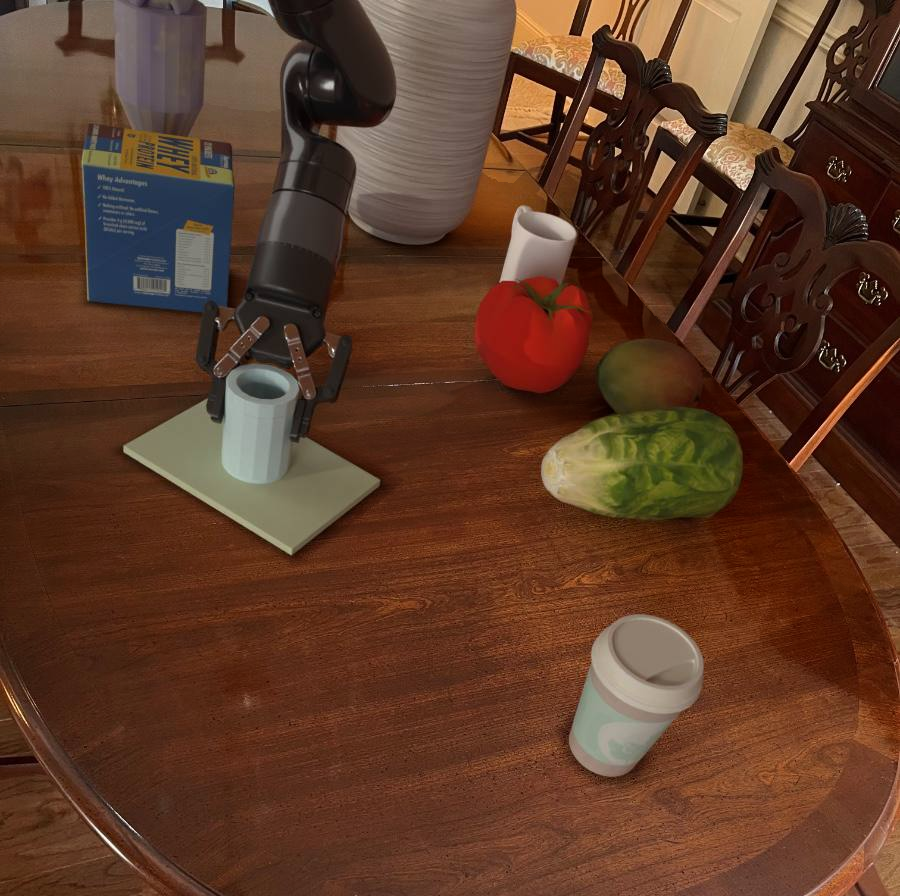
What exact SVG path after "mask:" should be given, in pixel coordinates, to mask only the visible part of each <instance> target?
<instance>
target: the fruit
mask: <svg viewBox="0 0 900 896" xmlns="http://www.w3.org/2000/svg"><path fill="white" fill-rule="evenodd" d="M594 370H595V371H594V378H595V383H596V385H597V388H598V390H599V392H600V394H601V395H602V397H603V399H604V400H605V402H606V403H607V404H608V405H609V407H610V408H611V409H612V410H613V411H614V412H615V414H620V413H628V412H641V411H651V410H656V409H662V408H673V407H688V408H695V409H697V405H698V404H699V402H700V400H701V394H702V390H703V371H702V368H701V366H700V364H699V362H698V360H697V359H696V358H695V356H694V355H693V354H691V353H690V352H689V350H687V349H686V348H684V347H682V346H680V345H678V344H675V343H673V342H669V341H666V340H661V339H654V338H638V339H632V340H628V341H624V342H622V343H619V344H616V345H615V346H613V347H612V348H610V349H609V350H608V351H607V352H605V353H604V354H603V356H602V357H601V359H600V360H599V361H598V363H597V366H596V367H595V369H594Z"/></svg>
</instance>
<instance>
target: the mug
mask: <svg viewBox="0 0 900 896" xmlns="http://www.w3.org/2000/svg"><path fill="white" fill-rule="evenodd" d="M577 236H578V233H577V230H576V228H575V227H574V226H573V225H572V224H571V223H569V222H568V221H566V220H565V219H563V218H561V217H559V216H556V215H553V214H550V213H547V212H541V211H533V209H532V208H531V206H529V205H520V206H518V207H517V209H516V211H515V213H514V216H513V220H512V226H511V238H510V241H509V244H508V248H507V251H506V256H505V259H504V264H503V268H502V270H501V271H502V272H501V275H500V278H499V279H500V280H499V283H500V282H501V281H516V282H517V283H519V282H520V281H518V280H521V281H523V280H525V279H528V278H534V277H540V276H541V277H546V278H552V279H556V281H557V283H558V284H559V286H560V285H561V284H563V280H564V277H565V274H566V271H567V267H568V265H569V262H570V258H571V255H572V251H573V249H574V245H575V242H576V239H577ZM516 279H518V280H516Z"/></svg>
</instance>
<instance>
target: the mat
mask: <svg viewBox="0 0 900 896" xmlns="http://www.w3.org/2000/svg"><path fill="white" fill-rule="evenodd" d="M207 400H208V397H207V398H205V399H203V400H202V401H200V402H199V403H196V404H194V405H193V406H191V407H189V408H188V409H186V410H184V411H182V412H181V413H179V414H177V415H175V416H173V417H171V418H169V419H168V420H167V421H165V422H163V423H161V424H159V425H158V426H156V427H154V428H153V429H150V430H148V431H147V432H145V433H143V434H142V435H140V436H138V437H137V438H134V439H133V440H131V441H128V442H127V443H125V444H123V453H124V454H126V455H128V457H131V458H132V459H134V460H135V461H137V462H139V463H140V464H142V465H144V466H145V467H146V468H149V469H151V470H152V471H154V472H155V473H157V474H158V475H160V476H162V477H163V478H165V479H167V480H168V481H169V482H171V483H173V484H175V485H176V486H178V487H180V488H181V489H182V490H184V491H186V492H187V493H189V494H191V495H192V496H194V497H196V498H197V499H199V500H201V501H202V502H204V503H205V504H207V505H208V506H210V507H212V508H213V509H215V510H217V511H219V512H220V513H222V514H223V515H225V516H227V517H228V518H230V519H232V521H235V522H236V523H238V524H239V525H242V526H243V527H245V528H246V529H248V530H249V531H251V532H252V533H255V534H256V535H257V536H259V537H260V538H262V539H264V540H266V541H267V542H269V543H270V544H272V545H274V546H276V547H277V548H278V549H280V550H282V551H284V552H285V553H286V554H289V555H290V556H293V555H294V554H295V553H297V552H298V551H299V550H301V549H302V548H303V547H304V546H305V545H307V544H308V543H309V542H311V541H312V540H313V539H315V537H317V536H318V535H320V534H321V533H322V532H323V531H324V530H326V529H327V528H328V527H329V526H331V525H332V524H333V523H334V522H336V521H338V519H340V518H341V517H342V516H344V515H345V514H346V513H347V512H348V511H350V510H351V509H352V508H353V507H355V506H356V505H357V504H359V503H360V502H361V501H363V499H365V498H367V496H369V495H370V494H371V493H372V492H374V491H375V490H376V489H378V488H379V487H380V485H381V479H380V478H378V477H376V476H374V475H373V474H371V473H369V472H368V471H366V470H364V469H362V468H361V467H359V466H357V465H355V464H353V463H352V462H350V461H349V460H347V459H345V458H343V457H341V456H340V455H339V454H337V453H334V452H333V451H331V450H329V449H328V448H325V447H324V446H322V445H321V444H319V443H317V442H315V441H314V440H312V439H310V438H309V437H307V436H306V438H302V437H300V440H299V443H295V442H293V446H292V454H291V462H290V465H289V470H288V472H287V474H286V475H285V476H284V477H283V478H281V479H279V480H277V481H275V482H272V483H266V484H254V483H248V482H244V481H241V480H239V479H237V478H235V477H233V476H232V475H230V474H229V473H228V472H227V471H226V470H225V468H224V467H223V464H222V439H223V423H224V416H223V420H222V423H221V424H219V423H215V422H213V421H212V420H211V415H209V414H208V412H207V409H206V404H207Z"/></svg>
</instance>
